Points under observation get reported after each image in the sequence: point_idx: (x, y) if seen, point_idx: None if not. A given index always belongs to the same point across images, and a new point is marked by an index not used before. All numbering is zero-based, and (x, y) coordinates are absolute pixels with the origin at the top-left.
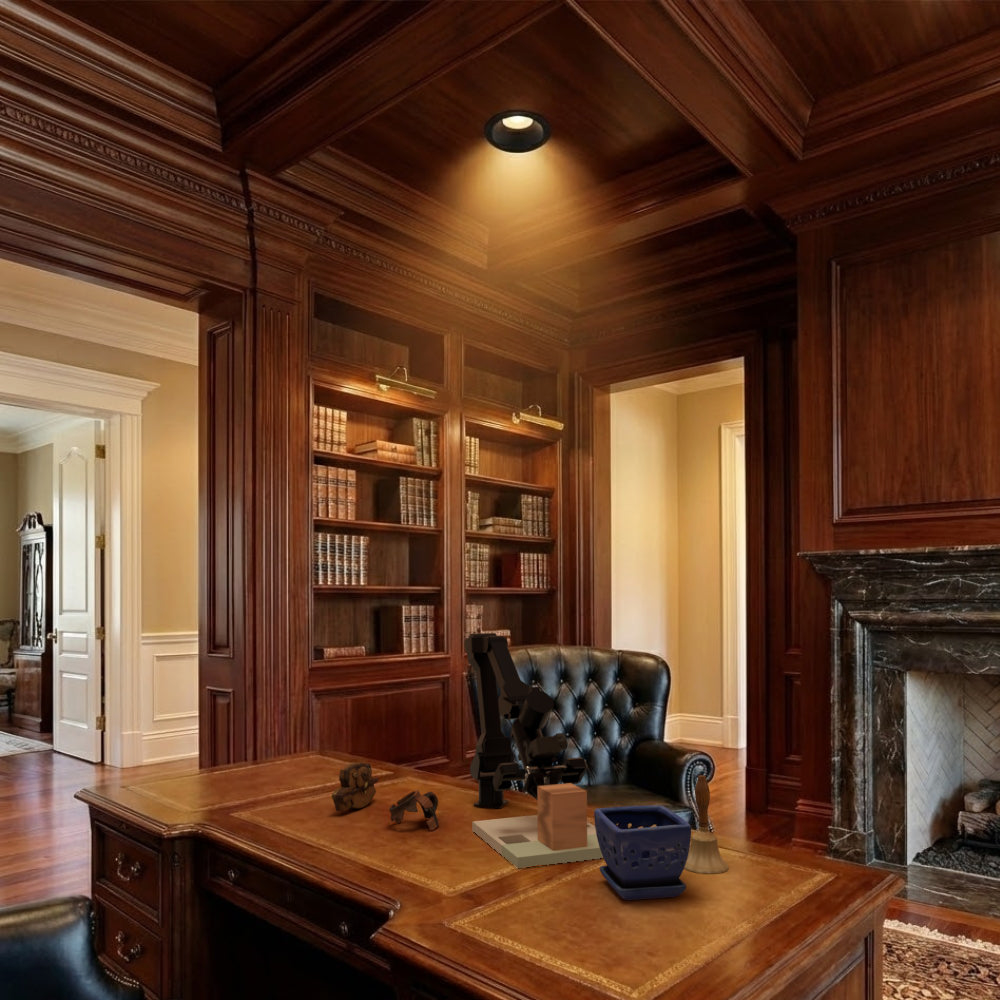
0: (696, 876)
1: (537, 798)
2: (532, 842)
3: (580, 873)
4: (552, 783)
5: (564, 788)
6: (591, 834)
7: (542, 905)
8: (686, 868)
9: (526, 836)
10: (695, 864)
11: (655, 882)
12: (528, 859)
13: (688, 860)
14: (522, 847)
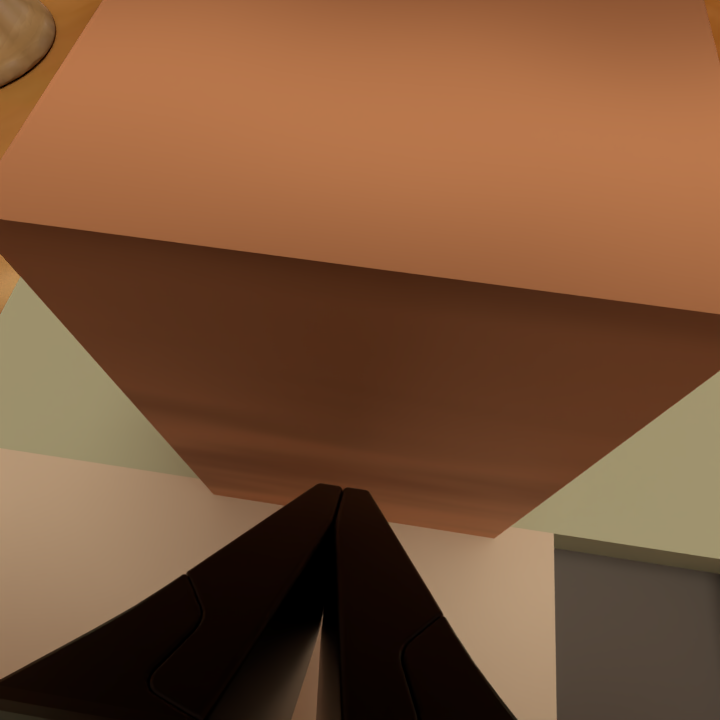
0: (85, 3)
1: (649, 420)
2: (556, 504)
3: None
4: (102, 717)
5: (362, 11)
6: (55, 459)
7: (712, 33)
8: (49, 39)
9: (539, 686)
10: (26, 1)
11: None
12: None
13: (12, 21)
14: (663, 441)
